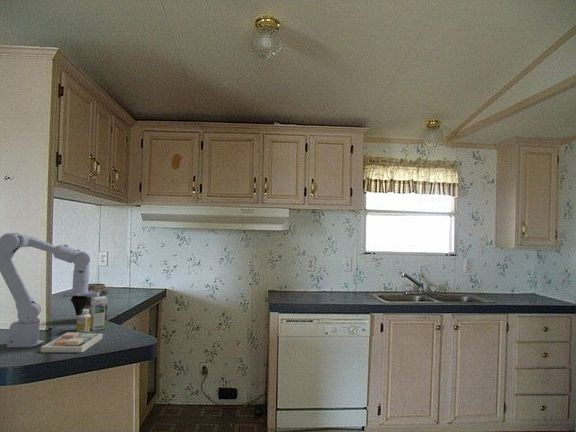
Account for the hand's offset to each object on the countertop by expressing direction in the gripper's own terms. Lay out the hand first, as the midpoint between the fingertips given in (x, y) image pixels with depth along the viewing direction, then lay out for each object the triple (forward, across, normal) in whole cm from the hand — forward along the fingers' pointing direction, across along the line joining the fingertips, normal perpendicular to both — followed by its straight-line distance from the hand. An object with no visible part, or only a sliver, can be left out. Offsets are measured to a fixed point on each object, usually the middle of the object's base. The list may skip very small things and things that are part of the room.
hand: (78, 314), depth 155 cm
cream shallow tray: (+10, +1, -6) cm, 12 cm away
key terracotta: (+10, -2, -9) cm, 13 cm away
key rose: (+9, -2, -3) cm, 9 cm away
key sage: (+10, +4, 0) cm, 11 cm away
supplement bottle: (+11, -4, +14) cm, 18 cm away
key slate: (+10, +4, -6) cm, 12 cm away
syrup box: (+11, 0, +20) cm, 23 cm away
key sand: (+9, +4, -12) cm, 15 cm away
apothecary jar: (+11, -8, +36) cm, 38 cm away
